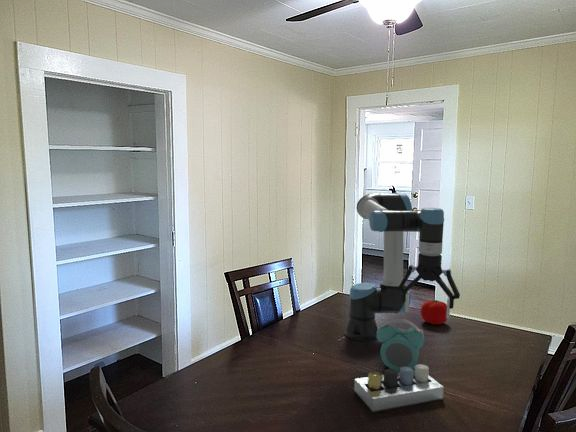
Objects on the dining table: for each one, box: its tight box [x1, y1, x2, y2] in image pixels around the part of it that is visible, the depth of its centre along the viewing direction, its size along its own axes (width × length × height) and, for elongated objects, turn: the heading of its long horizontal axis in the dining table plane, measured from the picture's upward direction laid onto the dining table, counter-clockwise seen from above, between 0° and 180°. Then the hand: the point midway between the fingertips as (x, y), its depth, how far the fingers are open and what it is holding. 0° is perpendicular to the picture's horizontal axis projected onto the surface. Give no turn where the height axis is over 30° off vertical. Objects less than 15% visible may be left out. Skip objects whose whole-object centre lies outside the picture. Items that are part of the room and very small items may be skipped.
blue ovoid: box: [400, 367, 415, 386], centre depth 144 cm, size 4×4×6 cm
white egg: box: [414, 363, 430, 384], centre depth 146 cm, size 4×4×6 cm
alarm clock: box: [377, 318, 425, 372], centre depth 162 cm, size 17×10×20 cm, turn 71°
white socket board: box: [353, 369, 445, 413], centre depth 143 cm, size 13×26×4 cm, turn 107°
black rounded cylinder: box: [383, 368, 398, 389], centre depth 142 cm, size 4×4×6 cm
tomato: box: [420, 299, 448, 326], centre depth 209 cm, size 12×13×12 cm
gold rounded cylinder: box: [367, 371, 383, 392], centre depth 140 cm, size 4×4×6 cm
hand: (426, 314), depth 147 cm, fingers open, 13 cm apart
